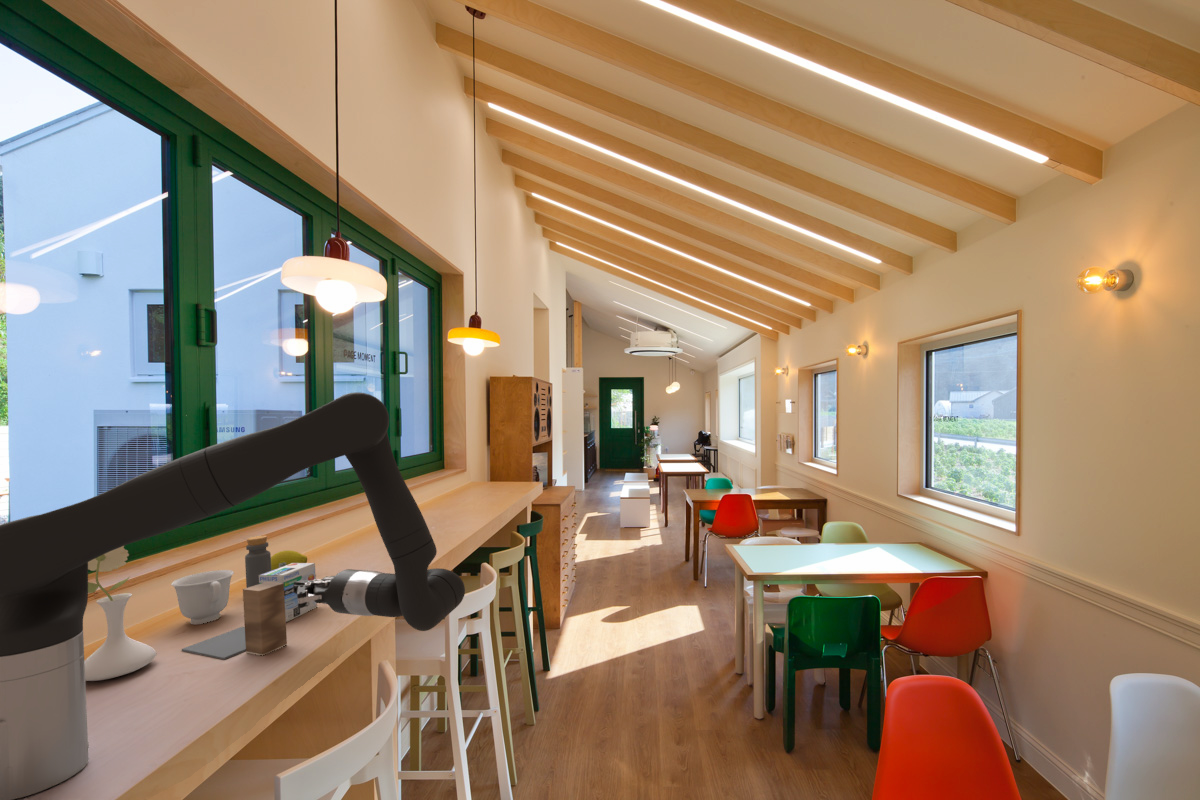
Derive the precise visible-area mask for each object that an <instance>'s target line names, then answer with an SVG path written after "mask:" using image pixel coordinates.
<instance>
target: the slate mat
mask: <svg viewBox="0 0 1200 800" xmlns="http://www.w3.org/2000/svg"><path fill="white" fill-rule="evenodd" d="M181 652H183V653H184V652H185V653H188V654H193V655H200V656H205V657H209V658H213V659H219V660H224V661H225V660H227V659H229V658H232V657H235V656H237V655H239V654H242V653H246V642H245V626H241V627H240V626H239V627H237V628H235V629H232V630H229V631H226V632H224V633H221V634H219V635H216V636H213V637H211V638H207V639H205V640H202V641H200V642H196V643H194V644H192V645H189V646H186V647H183V648H181Z"/></svg>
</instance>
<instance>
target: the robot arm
mask: <svg viewBox="0 0 1200 800" xmlns="http://www.w3.org/2000/svg"><path fill="white" fill-rule="evenodd" d="M389 416H390V414H389V410H388V409H387V407H386V406H385V405H384V403H383V402H382V401H381V400H380V399H379V398H377V397H376V396H374V395H372V394H370V393H365V392H358V391H357V392H349V393H345V394H343V395H340V396H339V397H337V398H335V399H334V400H332V401H330V402H328V403H326V404H324V405H322V406H319V407H318V408H316V409H314V410H311V411H309V412H308V413H305V414H303V415H302V416H299V417H297V418H294V419H293V420H290V421H288V422H286V423H283V424H280V425H277V426H274V427H271V428H267V429H263V430H259V431H256V432H252V433H251V432H250V433H249V434H245V435H242V436H237V437H235V438H231V439H228V440H225V441H223V442H220V443H216V444H213V445H210V446H207V447H204V448H202V449H200V450H199V449H198V450H196V451H193V452H192V453H189V454H186V455H184V456H181V457H178V458H176V459H174V460H171V461H168V462H167V463H164V464H162V465H159V466H157V467H155V468H152V469H150V470H148V471H146V472H144V473H141V474H140V475H137V476H135V477H133V478H131V479H129V480H127V481H125V482H123V483H121V484H118V485H117V486H115V487H113V488H111V489H109V490H106V491H105V492H102V493H100V494H98V495H95V496H93V497H91V498H88V499H85V500H82V501H79V502H77V503H74V504H71V505H67V506H64V507H60V508H58V509H54V510H51V511H48V512H44V513H40V514H36V515H31V516H27V517H23V518H19V519H16V520H12V521H8V522H5V523H2V524H0V800H16V799H20V798H24V797H27V796H30V795H34V794H38V793H40V792H42V791H45V790H48V789H49V788H51V787H54V786H56V785H59V784H60V783H62V782H64V781H66V780H68V779H70V778H72V777H73V776H75V775H76V774H77V773H79V772H80V771H81V770H83V769H84V768H85V766H87V764H88V763H89V759H90V758H89V748H90V747H89V746H90V744H89V734H88V712H87V711H88V710H87V689H86V687H87V686H86V681H85V662H84V661H85V643H84V642H85V641H84V639H85V638H84V615H85V612H86V609H87V606H88V600H89V599H88V597H89V593H88V582H89V569H88V562H89V561H91V560H93V559H95V558H97V557H99V556H101V555H103V554H106V553H108V552H110V551H112V550H115V549H117V548H119V547H122V546H124V547H125V546H127V545H130V544H133V543H137V542H139V541H142V540H145V539H148V538H149V539H150V538H151V537H155V536H158V535H161V534H162V535H163V534H164V533H168V532H170V531H173V530H176V529H180V528H182V527H184V526H187V525H190V524H193V523H195V522H199V521H202V520H204V519H207V518H209V517H212V516H214V515H216V514H218V513H221V512H223V511H226V510H229V509H230V508H233V507H235V506H237V505H240V504H242V503H244V502H246V501H248V500H250V499H252V498H254V497H256V496H259V495H261V494H262V493H264V492H266V491H268V490H269V489H271V488H273V487H275V486H277V485H278V484H280V483H282V482H283V481H286V480H287V479H288V478H291V477H292V476H294V475H296V474H298V473H300V472H302V471H304V470H306V469H309V468H311V467H314V466H316V465H320V464H322V463H325V462H328V461H331V460H334V459H338V458H340V457H344V456H345V458H346V459H347V460H348V462H349V463H350V465H351V467H352V469H353V470H354V472H355V475H356V476H357V478H358V480H359V482H360V484H361V487H362V489H363V490H364V494H365V496H366V498H367V502H368V504H369V507H370V509H371V512H372V515H373V518H374V521H375V524H376V528H377V530H378V532H379V535H380V537H381V539H382V543H383V544H384V546H385V548H386V551H387V554H388V556H389V558H390V560H391V562H392V564H393V568H394V573H388V572H387V573H386V572H382V571H378V570H368V569H367V570H366V569H352V568H351V569H349V568H346V569H343V570H340V572H337V574H336V575H331V576H325V577H323V578H321V579H320V578H316V579H315V580H313V581H311V580H300V581H297V582H294V585H293V590H294V593H295V594H297V600H298V608H303V607H305V606H306V605H307V604H309V601H315V602H316V603H317V604H322V605H328V607H329V608H330V609H331V610H332V611H333V612H336V613H338V614H345V615H346V614H347V615H352V616H353V615H354V616H363V617H373V616H376V617H377V616H379V617H386V618H399V617H403V619H404V621H405V622H406V623H408V625H409V626H410V627H411V628H413V629H415V630H417V631H419V632H426V631H430V630H432V629H433V628H435V627H436V626H437V625H439V624H440V622H441V623H442V621H443V620H444V619H445V618H447V616H448V615H450V614H451V613H452V612H453V611H454V610H455V609H456V608H457V607H458V606H460V605H461V603H462V602H463V600H464V597H465V594H466V587H465V584H464V582H463V579H462V578H461V577H460V576H459V574H457V573H456V572H454V571H452V570H449V569H446V568H437V567H436V568H429V566H430V564H431V563H432V561H433V560H434V559H435V558H436V557H437V552H438V551H437V547H436V543H435V541H434V539H433V537H432V534H431V531H430V530H429V527H428V524H427V522H426V520H425V518H424V516H423V514H422V513H423V512H422V511H421V510H420V507H419V505H418V503H417V502H416V500H415V498H414V496H413V494H412V493H411V491H410V489H409V487H408V485H407V484H406V482H405V479H404V477H403V476H402V473H401V472H400V469H399V467H398V465H397V464H398V463H397V462H396V459H395V456H394V453H393V450H392V445H391V442H390V439H389V435H388V429H389V427H390V417H389Z"/></svg>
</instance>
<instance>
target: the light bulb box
mask: <svg viewBox="0 0 1200 800" xmlns="http://www.w3.org/2000/svg"><path fill="white" fill-rule="evenodd" d="M315 579H317V578H316V563H315V562H307V563H291V564H289V565H286V566H283V567H281V568H278V569H275V570H272V571H270V572H267V573H264V574H261V575H259V584H261V583H264V582H277V583H284V597H285V616H286V623H288V622H289V621H291V620H293V619H296V618H298V617H300V616H302V615H304V614H306V613H308V611H309V612H310V610H311V611H312V609H313V610H315V609H317V608H318V603H316V602H315V601H309V604H307V605H306V606H305V607H303V608H298V600H297V594H295V593H294V590H293V585H294V582H297V581H300V580H311V581H313V580H315ZM316 607H317V608H316ZM314 608H315V609H314Z"/></svg>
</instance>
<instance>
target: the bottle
mask: <svg viewBox="0 0 1200 800" xmlns="http://www.w3.org/2000/svg"><path fill="white" fill-rule="evenodd" d="M267 539H268V536H267V535H256V536H252V537H248V538H246V543H247V545H246V547H245V549H246V550H247V551H248V553H247V554H246V555H245V556H244V562H245V563H244V565H245V583H246V584H245V585H246V586H245V587H246V588H248V587H252V586H255V585H258V584H259V575H261V574H264V573H267V572H270V571H271V557H272V555H271V552H270V550H267V548H268V547H269V542H267Z"/></svg>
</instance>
